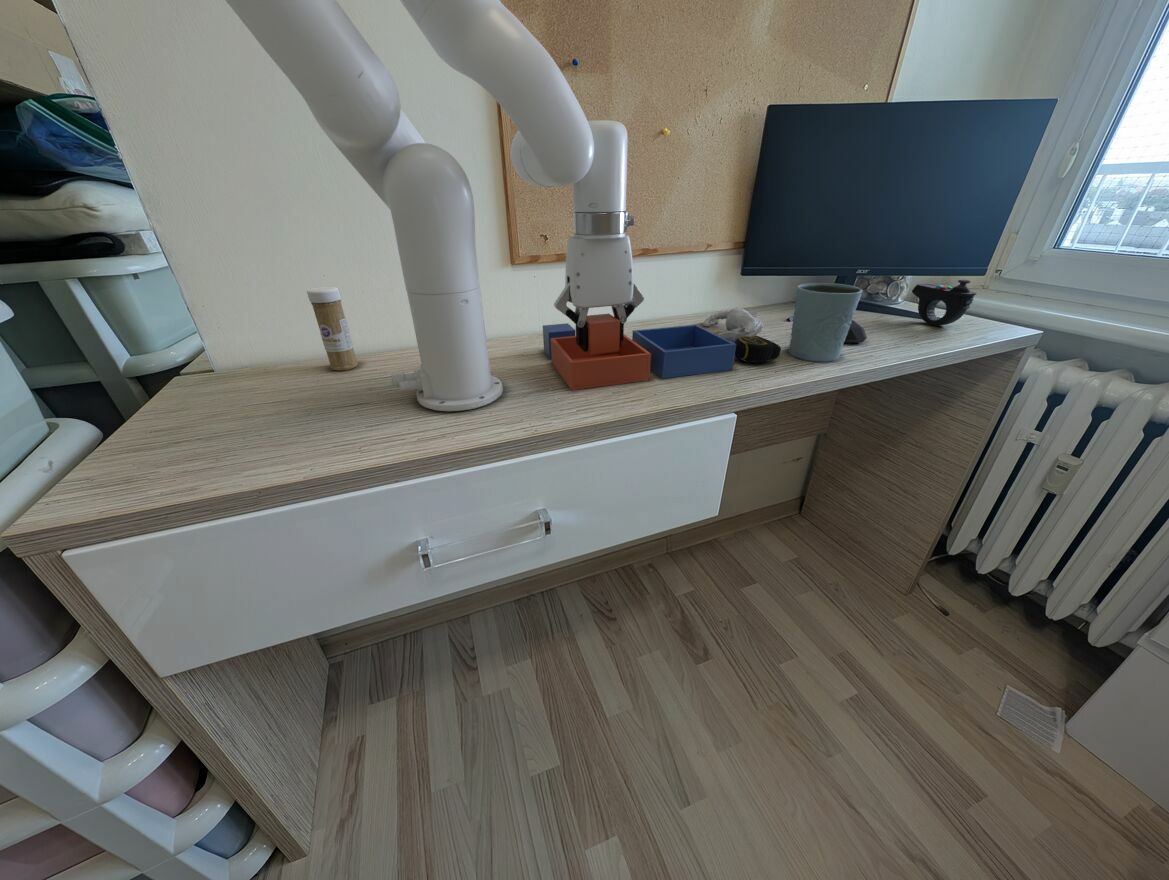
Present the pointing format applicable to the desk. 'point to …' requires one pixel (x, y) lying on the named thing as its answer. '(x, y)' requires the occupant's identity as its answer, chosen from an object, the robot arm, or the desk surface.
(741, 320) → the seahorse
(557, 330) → the blue block
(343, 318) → the sprinkles bottle
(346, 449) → the desk surface
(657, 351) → the blue bin
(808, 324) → the grey-green cup
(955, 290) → the controller
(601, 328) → the terracotta block
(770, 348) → the tape measure
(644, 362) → the terracotta bin
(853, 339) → the gaming mouse
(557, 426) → the desk surface
